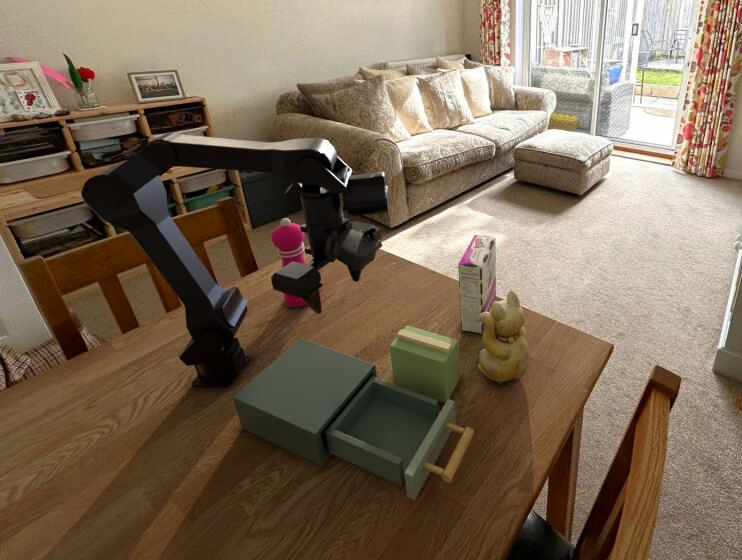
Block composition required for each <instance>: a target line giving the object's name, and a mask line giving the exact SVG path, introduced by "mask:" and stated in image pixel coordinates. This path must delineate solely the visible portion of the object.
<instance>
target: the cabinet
mask: <svg viewBox="0 0 742 560" xmlns="http://www.w3.org/2000/svg"><path fill="white" fill-rule="evenodd" d="M372 376H373V377H375V378H378V374H377V368H376V364H374V363H372V362H369V361H366V360H363V359H361V358H358V357H355V356H352V355H349V354H347V353H344V352H341V351H338V350H335V349H332V348H330V347H327V346H325V345H321V344H319V343H317V342H313V341H310V340H308V339H305V338H299V339H298V340H297V341H296V342H295V343H293V344H292V345H291V346H290V347H289V348H288V349H287V350H285V351H284V352H283V353H282V354H281V355H280V356H279V357H278V358H276V359H275V360H273V362H271V363H270V364H269V365H268V366H267V367H266V368H265V369H264V370H262V371H261V372H260V373H259V374H258V375H257V376H255V377H254V378H252V380H251V381H250V382H248V383H247V384H246V385H244V387H242V388H241V389H240V390H239V391H238V392H237V393H236V394H234V395H233V396H232V401H233V404H234V407H235V410H236V413H237V416H238V420H239V423H240V426H241V428H242V430H245V431H247V432H249V433H251V434H253V435H255V436H258V437H259V438H262V439H264V440H266V441H268V442H270V443H272V444H274V445H276V446H278V447H281V448H283V449H285V450H287V451H289V452H291V453H293V454H295V455H296V456H298V457H301V458H303V459H306V460H308V461H310V462H312V463H314V464H316V465H318V466H320V467H324V465H325V464H327V462H328V461H329V459H330V458H331V457H332V456H333V454H331V453H330V451H329V447H328V442H327V437H326V433H325V432H326V431H327V430H328V429H329V427H330V426H331V425H332V424H333V423H334V421H335V420H336V419H337V418H338V417H339V415H340V414H341V413H342V412H343V411H344V409H345V408H346V407H347V406H348V405H349V404H350V402H351V401H352V400H353V399H354V398H355V396H356V395H357V394H358V393H359V392H360V390H361V389H362V388H363V387H364V386H365V384H366V383H367V382H368V381H369V380H370V378H371V377H372Z"/></svg>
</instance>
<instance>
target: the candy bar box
mask: <svg viewBox="0 0 742 560" xmlns="http://www.w3.org/2000/svg"><path fill="white" fill-rule="evenodd" d="M496 238H497V237H496V236H489V235H488V236H487V235H481V234H474V235H473V236H472V239H471V241H470V243H469V244H468V246H467V247H466V250H465V251H464V253H463V255H461V258H460V260H459V262H458V264H457V265H458V266H457V267H458V285H459V286H458V288H459V305H460V327H461V328H460V329H461V331H464V332H468V333H469V332H470V333H475V334H481V335H483V333H484V330H485V326H484V324H483V323H482V322H478V318H479V316H480V314H481V313H483V312H489V310H490V308H491V306H492V303H493V302H494V301H497V281H496V280H497V277H496V276H497V275H496V274H497V272H496V271H497V266H496V261H497V260H496V259H497V258H496V251H497V250H496V249H497V248H496V246H497V245H496ZM494 296H495V297H494Z"/></svg>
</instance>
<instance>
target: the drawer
mask: <svg viewBox="0 0 742 560" xmlns="http://www.w3.org/2000/svg"><path fill="white" fill-rule="evenodd" d="M456 424H457V422H456V401H455V400H452V399H450V398H449V399H448V400H447V402H446V403H444V405H443V407H442V409H441V410H440V411H439V401H437V400H434V399H432V398H429V397H426V396H424V395H421V394H418V393H415V392H413V391H410V390H407V389H405V388H402V387H399V386H397V385H394V383H391V382H388V381H385V380H383V379H379V378H378V377H377V378H375V377H373V376H372V377H371V378H370V380H369V381H368V382H367V383H366V384H365V386H364V387H363V388H362V389H361V390H360V392H359V393H358V394H357V395H356V396H355V398H354V399H353V400H352V401H351V402H350V404H349V405H348V406H347V407H346V408H345V409H344V411H343V412H342V413H341V414H340V415H339V417H338V418H337V419H336V420H335V421H334V423H333V424H332V425H331V426H330V427H329V429H328V430H327V431H326V432H325V433H326V437H327V442H328V447H329V451H330V453H331V454H332V456H333V455H334V456H335V457H337V458H340V459H342V460H344V461H346V462H348V463H351V464H353V465H356V466H357V467H360V468H362V469H364V470H365V471H368V472H370V473H373V474H374V475H377V476H379V477H381V478H383V479H385V480H388V481H390V482H392V483H395V484H397V485H399V486H403V484H404V482H405V489H406V497H407V498H409V499H411V500H413V501H415V500H416V499H417V497H418V495H419V494H420V491H421V490H422V487H423V486H424V484H425V482H426V481H427V478H428V476H429V474H430V473H433V474H436V475H438V476H440V477H441V479H442V480H443V481H444V482H445V483H448V484H449V483H451V482H452V481H453V478H454V476H455V475H456V472H457V470H458V468H459V466H460V464H461V461H462V460H463V457H464V456H465V453H466V452H467V449H468V447H469V445H470V443H471V442H472V439H473V436H474V435H475V431H474V429H473V428H472V427H470V426H465V428H464V427H462V426H459V425H456ZM452 432H455V433H457V434H460V435H461V436H460V438H459V440H458V442H457V444H456V445H455V448H454V450H453V452H452V453H451V456H450V458H449V460H448V462H447V464H446V466H445V468H442V467H440V466H438V465H435V463H436V462H437V460H438V458H439V456H440V454H441V452H442V450H443V448H444V447H445V445H446V442H447V441H448V439H449V437H450V436H451V433H452Z"/></svg>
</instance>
